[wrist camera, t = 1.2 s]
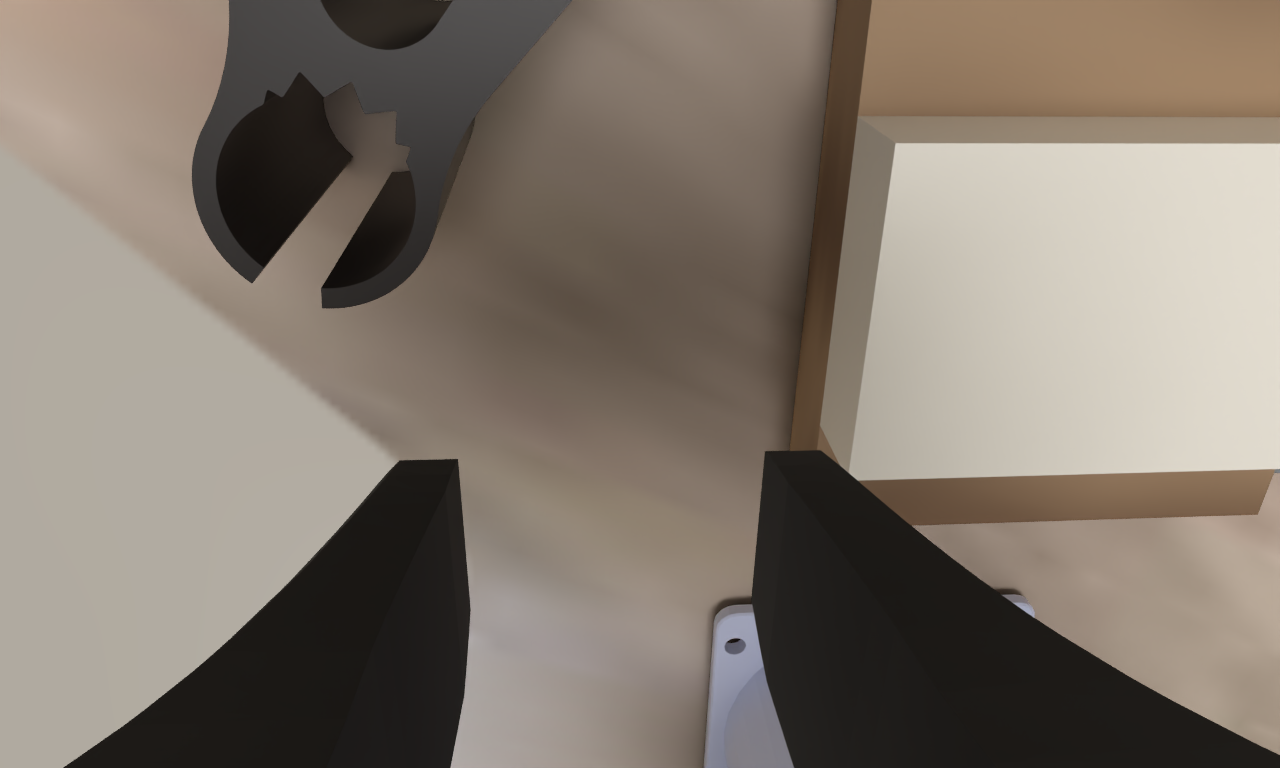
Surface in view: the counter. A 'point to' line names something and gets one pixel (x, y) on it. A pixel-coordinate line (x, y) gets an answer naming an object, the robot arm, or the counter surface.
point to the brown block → (1033, 87)
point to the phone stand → (384, 81)
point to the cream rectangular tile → (1057, 297)
